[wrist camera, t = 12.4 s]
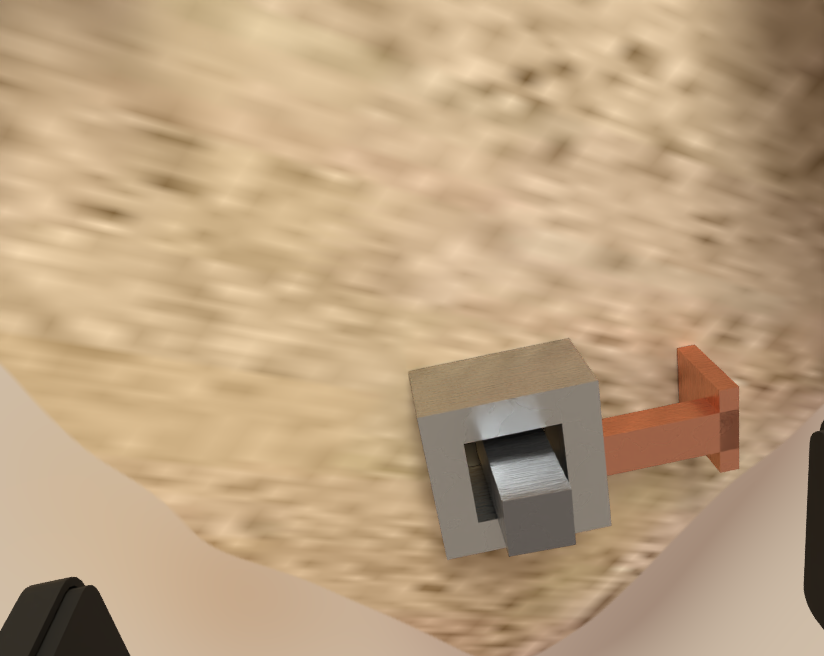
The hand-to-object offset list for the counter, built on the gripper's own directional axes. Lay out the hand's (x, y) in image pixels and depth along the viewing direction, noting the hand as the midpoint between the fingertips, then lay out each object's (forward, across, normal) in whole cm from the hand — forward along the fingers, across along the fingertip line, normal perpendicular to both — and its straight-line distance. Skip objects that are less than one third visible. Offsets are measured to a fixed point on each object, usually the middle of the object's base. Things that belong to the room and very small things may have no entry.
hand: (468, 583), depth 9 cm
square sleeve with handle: (+28, -7, +16) cm, 33 cm away
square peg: (+28, -4, +16) cm, 33 cm away
